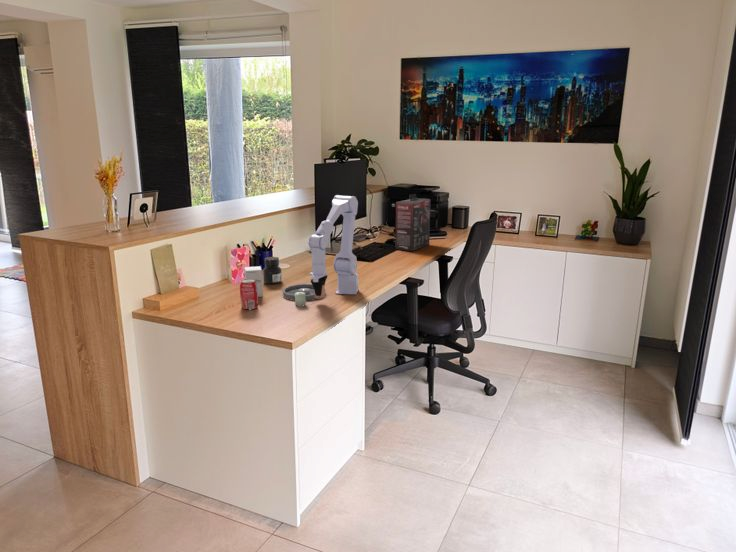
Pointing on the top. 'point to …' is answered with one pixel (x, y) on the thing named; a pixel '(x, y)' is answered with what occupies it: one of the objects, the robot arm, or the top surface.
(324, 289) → the terracotta bead
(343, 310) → the top surface
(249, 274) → the supplement box
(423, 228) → the headset box
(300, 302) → the sage bead
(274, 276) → the ink bottle
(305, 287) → the groove tray
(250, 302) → the soda can
